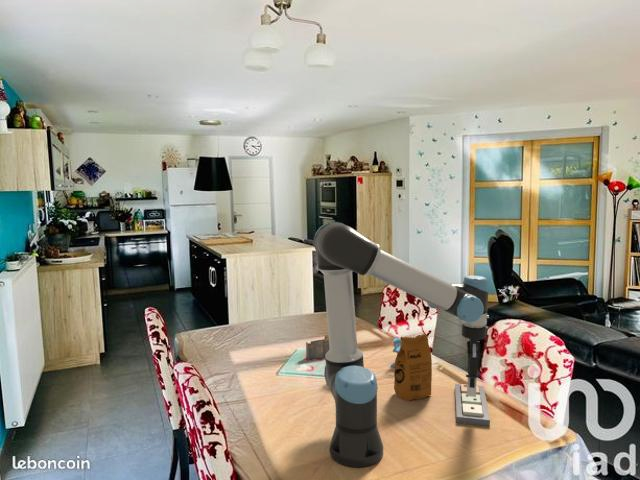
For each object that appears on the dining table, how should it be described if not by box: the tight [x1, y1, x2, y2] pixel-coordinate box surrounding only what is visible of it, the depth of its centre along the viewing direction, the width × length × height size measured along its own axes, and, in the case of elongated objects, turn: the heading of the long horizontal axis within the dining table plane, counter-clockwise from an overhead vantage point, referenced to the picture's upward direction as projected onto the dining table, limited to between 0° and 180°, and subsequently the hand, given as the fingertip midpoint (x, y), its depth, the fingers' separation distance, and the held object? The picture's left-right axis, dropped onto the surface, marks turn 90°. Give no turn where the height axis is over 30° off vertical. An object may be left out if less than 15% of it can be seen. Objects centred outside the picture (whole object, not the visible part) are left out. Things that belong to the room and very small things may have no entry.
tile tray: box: [454, 383, 491, 427], centre depth 164 cm, size 26×10×2 cm, turn 166°
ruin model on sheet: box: [305, 334, 330, 360], centre depth 214 cm, size 11×3×10 cm, turn 115°
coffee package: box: [393, 332, 433, 402], centre depth 173 cm, size 10×12×22 cm
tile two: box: [461, 393, 481, 405], centre depth 164 cm, size 6×6×3 cm
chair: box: [390, 337, 402, 369], centre depth 202 cm, size 8×8×12 cm
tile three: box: [460, 383, 479, 395], centre depth 172 cm, size 6×6×3 cm
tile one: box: [461, 402, 483, 417], centre depth 156 cm, size 6×6×3 cm
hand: (471, 395), depth 156 cm, fingers closed
